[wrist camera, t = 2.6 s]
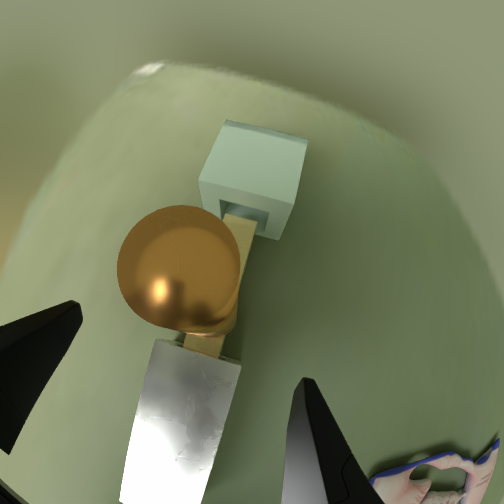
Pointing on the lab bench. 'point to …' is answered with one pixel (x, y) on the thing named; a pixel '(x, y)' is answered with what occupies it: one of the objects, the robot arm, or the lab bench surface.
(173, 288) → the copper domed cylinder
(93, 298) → the lab bench surface
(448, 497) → the anatomical model
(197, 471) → the aluminium sleeve
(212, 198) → the green socket
